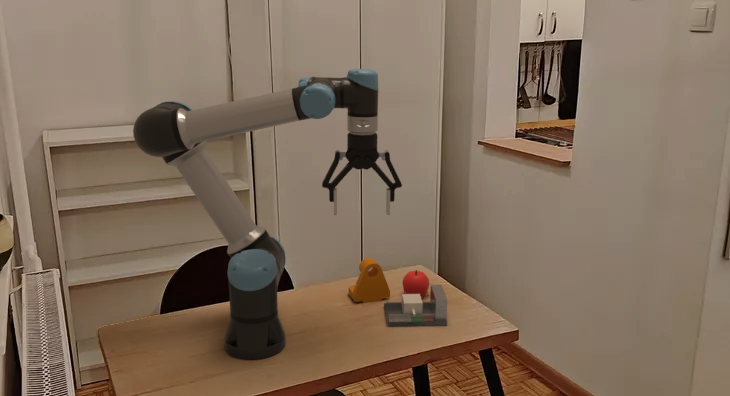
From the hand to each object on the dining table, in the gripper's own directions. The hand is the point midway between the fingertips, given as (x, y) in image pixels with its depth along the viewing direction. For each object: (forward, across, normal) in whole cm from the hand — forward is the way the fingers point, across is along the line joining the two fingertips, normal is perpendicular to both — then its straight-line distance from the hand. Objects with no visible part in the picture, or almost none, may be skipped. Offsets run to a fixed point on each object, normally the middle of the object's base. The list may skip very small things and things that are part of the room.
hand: (361, 213), depth 171 cm
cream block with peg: (+29, +14, +2) cm, 33 cm away
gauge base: (+31, +15, +3) cm, 34 cm away
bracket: (+31, +3, +16) cm, 35 cm away
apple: (+31, +17, +17) cm, 39 cm away
